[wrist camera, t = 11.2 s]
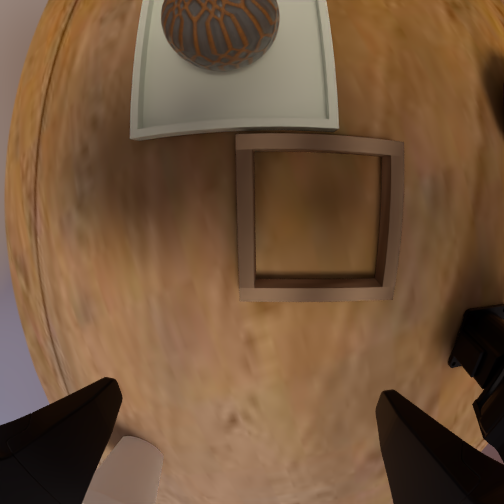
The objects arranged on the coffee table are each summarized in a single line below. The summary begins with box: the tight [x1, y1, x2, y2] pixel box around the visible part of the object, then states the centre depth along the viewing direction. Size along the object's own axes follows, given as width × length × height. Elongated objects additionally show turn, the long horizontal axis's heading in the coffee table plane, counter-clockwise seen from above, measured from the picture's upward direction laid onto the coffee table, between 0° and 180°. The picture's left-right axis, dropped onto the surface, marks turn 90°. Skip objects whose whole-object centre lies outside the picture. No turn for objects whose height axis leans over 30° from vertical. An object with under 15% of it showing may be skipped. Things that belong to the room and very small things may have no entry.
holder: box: [236, 133, 404, 302], centre depth 18 cm, size 11×11×2 cm
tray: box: [130, 0, 339, 141], centre depth 16 cm, size 14×14×2 cm
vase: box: [161, 0, 280, 71], centre depth 11 cm, size 7×7×9 cm
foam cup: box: [82, 436, 163, 504], centre depth 22 cm, size 10×9×13 cm
